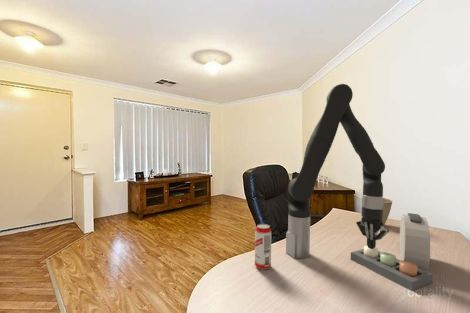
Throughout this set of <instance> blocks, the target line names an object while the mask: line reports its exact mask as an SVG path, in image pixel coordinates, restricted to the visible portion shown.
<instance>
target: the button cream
mask: <svg viewBox="0 0 470 313" xmlns="http://www.w3.org/2000/svg"><path fill="white" fill-rule="evenodd" d="M363 249H364V255H365V256H367V257H370V258H372V259H375V258H378V251H379V249H378V248H377V247H375V248H373V249H371V248H368V246H367V244H366V245H363Z"/></svg>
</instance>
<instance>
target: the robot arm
mask: <svg viewBox="0 0 470 313" xmlns="http://www.w3.org/2000/svg"><path fill="white" fill-rule="evenodd" d="M353 97H354V96H353V90H352V87H350V86H349V85H348V84H345V83H340V84H337V85H335V86H333V87H332V88H331V89H330V91H329V92H328V93H327V96H326V105H325V107H324V111H323V113H322V115H321V116H320V118H319V120H318V122H317V123H316V125H315V127H314V129H313V131H312V133H311V135H310V137H309V140H308V142H307V144H306V147H305V151H304V156H303V163H302V165H301V169H300V170H299V172H298V174H297V177H294V178H293V179H291V180H290V181H289V183H288V185H287V208H288V215H287V216H288V217H287V218H288V219H287V220H288V222H287V224H288V226H287V231H286V233H285V253H286V254H287V255H288V256H290V257H292V258H293V259H307V258H309V257H310V249H311V247H310V244H311V208H310V198H311V197H312V195H313V193H314V190H315V187H316V183H317V179H318V176H319V174H320V171H321V169H322V167H323V165H324V164H325V162H326V160H327V159H326V158H327V156H328V154H329V152H330V150H331V148H332V146H333V143H334V140H335V137H336V134H337V132H338V128H339V126H340V125H341V127H342V128H343V130H344V132H345V135H347V138H348V140H349V142H350V144H351V146H352V148H353V150H354V151H355V153H356V154H357V156H359V158H360V161H361V163H362V166H361V167H362V181H363V182H362V183H363V184H362V197H361V219H360V220H359V221H356V222H355V223H356V226H357V227H358V229H359V230H360V233H361V234H362V236H364V237H366V245H367V246H368V248H371V249H373V248H375V247H376V245H377V244H376V243H377V241H378V240H382V239H383V238H384V237H385V236H386V235H387V234H389V232H390V230H389V229H386V228H385V226H383V223H382V219H383V198H384V197H383V196H384V184H383V182H382V174H383V173H384V172H385V170H386V164H385V162H384V160H383V158H382V157H381V155H380V153H379V152H378V150H377V149H376V147H375V146H374V143H373V140H372V138H371V136H369V133H368V132H367V130H366V129H365V127H364V126H363V125H362V123H361V122H359V120H358V119H357V118H356V116H355V115H354V111H353V110H352V108H351V105H350V103H351V102H352V99H353ZM376 248H377V247H376Z"/></svg>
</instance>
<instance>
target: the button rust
mask: <svg viewBox="0 0 470 313" xmlns="http://www.w3.org/2000/svg"><path fill="white" fill-rule="evenodd" d="M400 260H401V259H400ZM399 271H400V272H402V273H404V274H406V275H408V276H410V277H412V278H413V277H415V276H417V265H416V264H415V263H413V262H410V261H405V260H401V261H400V267H399Z"/></svg>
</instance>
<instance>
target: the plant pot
mask: <svg viewBox="0 0 470 313" xmlns="http://www.w3.org/2000/svg"><path fill="white" fill-rule="evenodd" d="M392 204H393V200H391V199H389V198H385V197H383V219H382V223H383V227H385V224H386V223H387V221H388V219H389V216H390V212H391V209H392Z"/></svg>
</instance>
